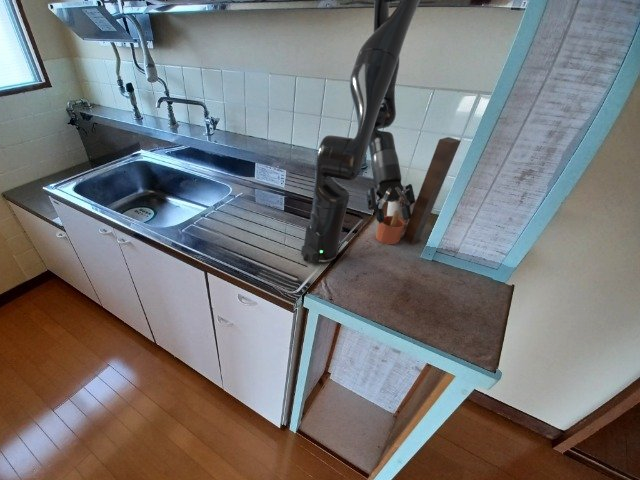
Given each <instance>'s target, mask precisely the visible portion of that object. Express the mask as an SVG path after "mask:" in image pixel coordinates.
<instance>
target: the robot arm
mask: <svg viewBox="0 0 640 480" xmlns="http://www.w3.org/2000/svg"><path fill="white" fill-rule="evenodd" d="M420 2H421V0H374V3H373V4H374V5H373V7H374V8H373V33H372V34H371V35H370V36H369V37H368V38H367V39H366V40H365V42H364V43H363V44H362V46H361V47H360V49H359V51H358V53H357V57H356V60H355V62H354V65H353V68H352V71H351V74H350V77H349V89H350V90H349V91H350V95H351V99H352V102H353V103H352V104H353V105H354V110H355V114H356V121H357V132H356V135H355V137H354V138H353V137H346V136H339V135H331V134H330V135H326V136H324V137H323V138H322V139H321V141H320V143H319V146H318V150H317V154H316V161H315V172H314V173H315V174H314V184H313V196H312V197H313V198H312V204H311V211H310V216H309V217H310V218H309V224H308V225H306V227H305V236H304V243H303V245H302V246H301V251H300V252H301V253H300V255H301V256H303V257H302V258H303V261H304V262H307V263H308V262H310V263H314V264H317V263H323V264H324V263H330V262H333V261H334V260H335V259H336V258H337V255H338V251H339V250H338V249H339V246H340V240H341V235H342V232H343V227H344V222H345V217H346V214H347V213H346V212H347V208H348V204H349V199H350V192H349V190H348V189H347V188H346V187H345V186H343V185H341V184H340V183H338V182H337V181H336V179H339V180H345V181H354V180H356V179H357V177H358V176H359V174H360V172H361V170H362V167H363V164H364V162H365V158H366V155H367V153H368V149H369V154H370V165H371V171H372V178H373V183H374V184H373V185H374V187H375V188H374V187H370V188H369V189H368V190H367V191H366V192H365V193H366V200H367V201H366V202H367V208H368V210H369V211H374V212H375V218H376V221H377V222H378V224H379V223H382V222H384V221H385V218H384V216H385V213H384V208H383V207H384V204H385V203H389V202H394V201H395V202H396V203H397V204H399V205H400V206H401V207H402V213H403V219H404V220H408V221H409V219H410V217H411V214H412V213H411V212H410V205H411V204H413V203H415V197H414V195H415V192H414V188H413V184H412V183H408V184H407V185H403V184H402V173H401V168H400V162H399V157H398V153H397V149H396V144H395V138H394V135H393V133H392V132H391V131H385V130H384V131H383V129H385V128H389V127H391V126H392V125H393V124H394V122H395V120H396V115H397V109H396V85H397V79H398V73H399V68H400V54H401V51H402V48H403V46H404V43H405V39H406V37H407V33H408V30H409V29H410V25H411V23H412V21H413V19H414V16H415V13H416V11H417V9H418V6H419V4H420ZM390 3H398V4H397V6H396V7H395V9H394V11H393V12H392V13H391V14H390ZM381 129H382V130H381ZM402 192H403V193H404V194H405V195H404V194H403V193H402ZM376 196H377V197H378V198H377V201H376ZM399 197H400V198H401V199H399Z"/></svg>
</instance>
